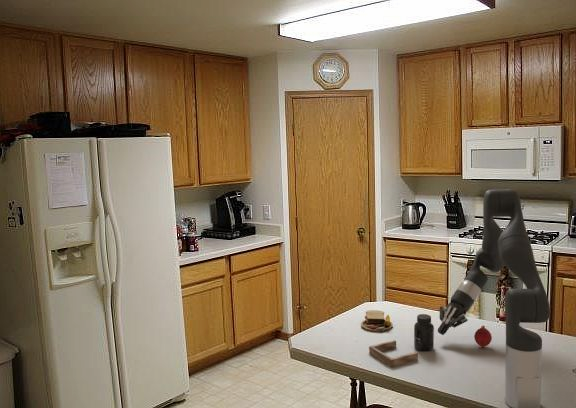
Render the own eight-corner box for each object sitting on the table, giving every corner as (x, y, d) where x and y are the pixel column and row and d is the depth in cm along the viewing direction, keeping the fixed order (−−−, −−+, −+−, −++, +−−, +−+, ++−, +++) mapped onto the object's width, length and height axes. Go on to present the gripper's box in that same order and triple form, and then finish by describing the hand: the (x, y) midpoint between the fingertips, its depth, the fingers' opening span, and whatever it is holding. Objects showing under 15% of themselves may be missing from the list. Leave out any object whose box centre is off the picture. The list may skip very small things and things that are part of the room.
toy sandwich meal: (359, 331, 207) (359, 320, 206) (362, 319, 220) (362, 308, 219) (391, 333, 204) (391, 321, 203) (393, 321, 217) (393, 310, 216)
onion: (492, 351, 184) (493, 329, 183) (475, 350, 185) (475, 328, 184) (490, 344, 189) (490, 323, 188) (473, 343, 191) (473, 322, 189)
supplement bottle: (412, 350, 187) (411, 318, 185) (416, 343, 193) (416, 311, 191) (431, 353, 184) (431, 320, 182) (435, 346, 190) (435, 314, 188)
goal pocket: (394, 346, 191) (394, 340, 191) (417, 359, 179) (417, 352, 179) (369, 353, 186) (369, 346, 186) (391, 367, 175) (391, 359, 174)
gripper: (447, 285, 199) (422, 322, 196) (473, 294, 187) (447, 333, 184) (458, 296, 202) (433, 333, 198) (484, 305, 190) (458, 345, 187)
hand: (440, 333), depth 191 cm, fingers closed
